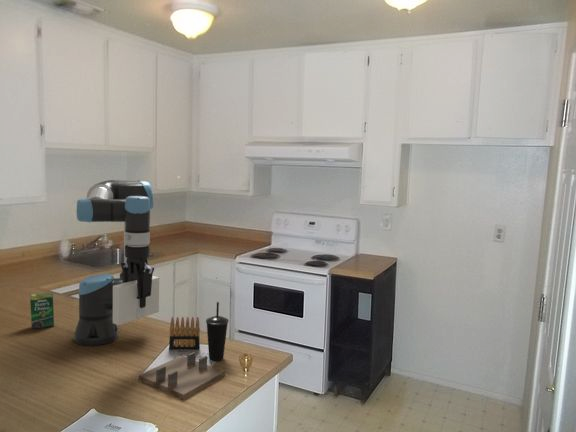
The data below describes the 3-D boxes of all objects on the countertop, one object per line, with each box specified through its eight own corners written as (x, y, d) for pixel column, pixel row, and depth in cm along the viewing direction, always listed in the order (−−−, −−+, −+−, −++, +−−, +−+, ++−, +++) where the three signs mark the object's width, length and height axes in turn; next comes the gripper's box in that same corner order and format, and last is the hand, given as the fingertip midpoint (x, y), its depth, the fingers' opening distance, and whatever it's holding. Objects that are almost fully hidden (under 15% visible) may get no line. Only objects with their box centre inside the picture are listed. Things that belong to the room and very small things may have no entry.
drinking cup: (202, 354, 159) (204, 299, 157) (224, 352, 162) (226, 298, 160) (207, 364, 152) (208, 306, 150) (229, 361, 155) (231, 305, 153)
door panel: (112, 323, 143) (112, 285, 141) (152, 310, 156) (153, 275, 155) (118, 325, 141) (119, 287, 140) (158, 311, 155) (159, 277, 153)
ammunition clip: (199, 347, 165) (200, 315, 164) (199, 350, 163) (200, 317, 162) (169, 347, 164) (170, 315, 162) (168, 350, 162) (169, 317, 161)
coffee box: (30, 329, 174) (29, 296, 173) (30, 326, 177) (30, 293, 175) (54, 326, 178) (53, 294, 176) (54, 324, 180) (53, 292, 179)
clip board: (138, 379, 140) (138, 364, 139) (181, 359, 155) (181, 345, 154) (183, 399, 130) (184, 382, 129) (224, 375, 145) (225, 360, 144)
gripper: (111, 242, 147) (110, 313, 150) (145, 250, 138) (144, 324, 141) (130, 239, 153) (129, 307, 156) (163, 246, 145) (162, 317, 148)
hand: (136, 315), depth 149 cm, fingers closed on door panel, 3 cm apart
